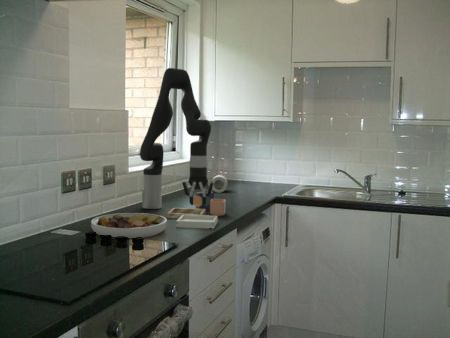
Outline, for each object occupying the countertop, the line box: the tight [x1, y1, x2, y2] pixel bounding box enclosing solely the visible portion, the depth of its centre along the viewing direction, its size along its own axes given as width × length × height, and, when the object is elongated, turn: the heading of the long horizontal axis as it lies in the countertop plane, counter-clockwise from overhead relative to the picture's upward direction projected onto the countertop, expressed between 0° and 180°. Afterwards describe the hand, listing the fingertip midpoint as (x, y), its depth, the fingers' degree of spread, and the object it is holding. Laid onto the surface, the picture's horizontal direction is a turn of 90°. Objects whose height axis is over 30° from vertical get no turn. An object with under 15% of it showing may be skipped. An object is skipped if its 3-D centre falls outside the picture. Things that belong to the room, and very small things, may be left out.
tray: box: [175, 214, 219, 230], centre depth 214 cm, size 16×14×3 cm
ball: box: [193, 195, 203, 207], centre depth 213 cm, size 4×4×4 cm
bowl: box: [90, 212, 168, 239], centre depth 199 cm, size 30×30×8 cm
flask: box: [195, 188, 215, 211], centre depth 249 cm, size 9×3×11 cm, turn 109°
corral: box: [166, 207, 207, 219], centre depth 233 cm, size 16×14×2 cm
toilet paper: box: [211, 174, 228, 194], centre depth 312 cm, size 10×10×10 cm
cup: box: [209, 198, 226, 217], centre depth 237 cm, size 7×7×7 cm
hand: (197, 204), depth 214 cm, fingers closed on ball, 4 cm apart
